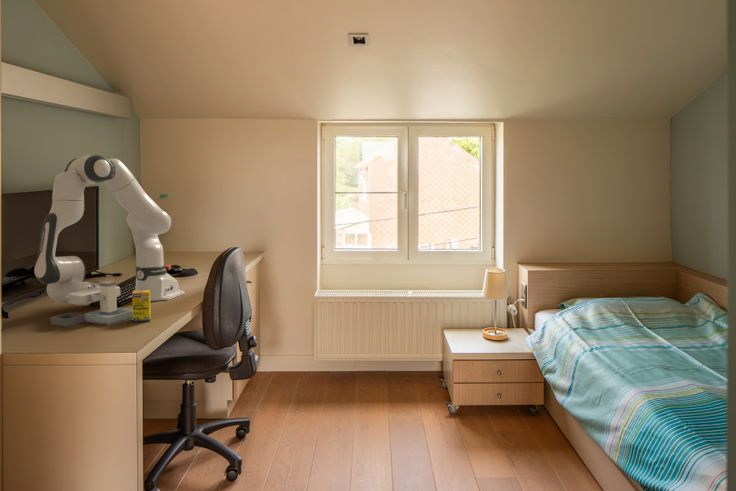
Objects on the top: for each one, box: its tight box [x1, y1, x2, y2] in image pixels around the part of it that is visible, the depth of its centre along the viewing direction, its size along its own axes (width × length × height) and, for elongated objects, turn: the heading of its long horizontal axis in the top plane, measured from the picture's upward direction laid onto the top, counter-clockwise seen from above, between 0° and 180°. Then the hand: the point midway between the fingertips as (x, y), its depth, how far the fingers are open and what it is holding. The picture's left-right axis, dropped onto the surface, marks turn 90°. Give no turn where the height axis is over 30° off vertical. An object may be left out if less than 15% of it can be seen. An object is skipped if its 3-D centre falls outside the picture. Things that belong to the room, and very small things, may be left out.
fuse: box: [99, 280, 118, 316], centre depth 231 cm, size 4×4×12 cm
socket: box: [49, 312, 86, 328], centre depth 229 cm, size 12×8×2 cm
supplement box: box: [131, 289, 152, 323], centre depth 232 cm, size 6×6×11 cm
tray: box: [83, 307, 133, 326], centre depth 232 cm, size 12×12×3 cm
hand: (110, 297), depth 231 cm, fingers closed on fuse, 4 cm apart
